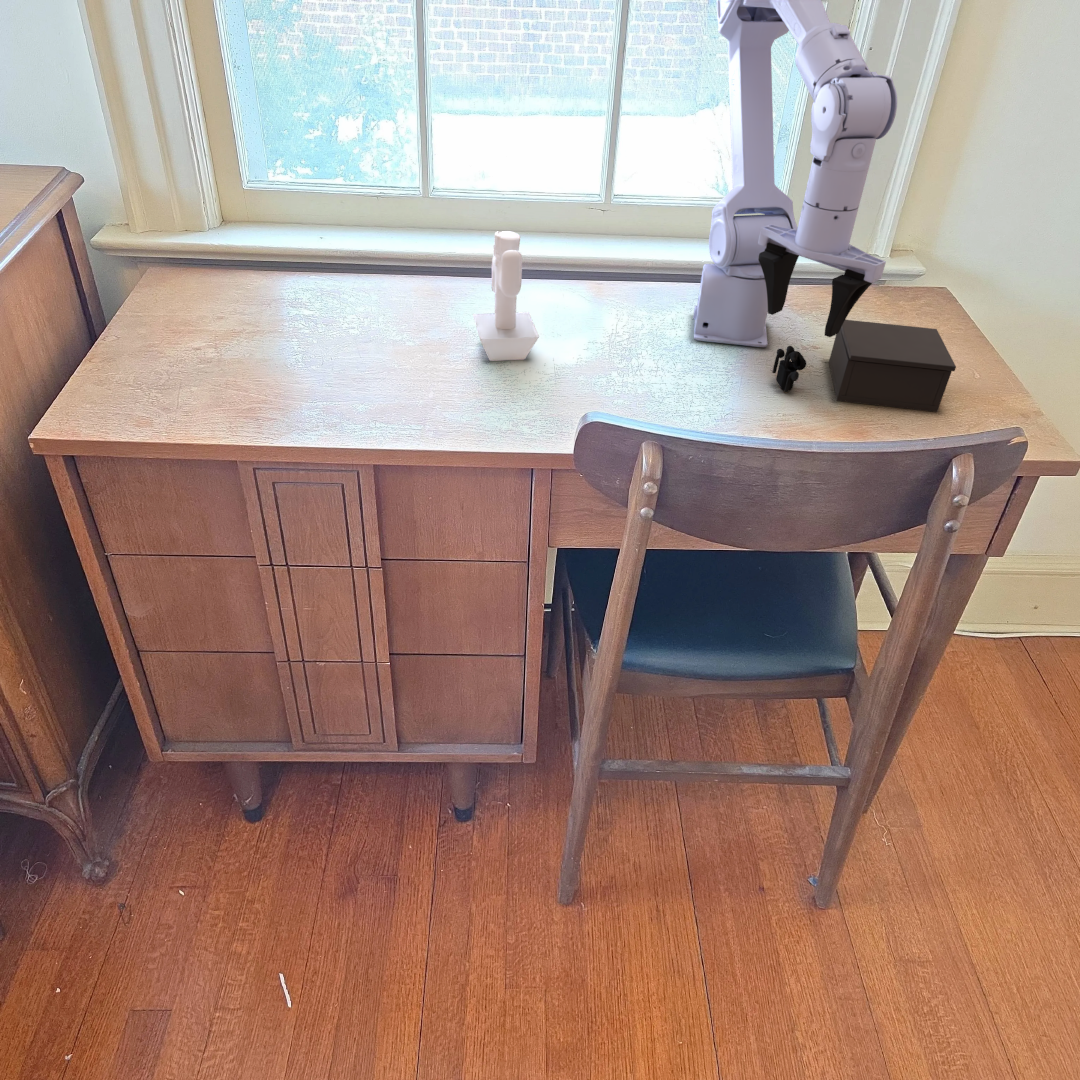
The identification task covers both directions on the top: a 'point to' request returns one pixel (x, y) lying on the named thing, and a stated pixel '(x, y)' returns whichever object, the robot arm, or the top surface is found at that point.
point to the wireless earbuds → (788, 367)
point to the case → (885, 382)
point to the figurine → (506, 305)
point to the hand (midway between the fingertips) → (802, 322)
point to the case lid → (896, 345)
